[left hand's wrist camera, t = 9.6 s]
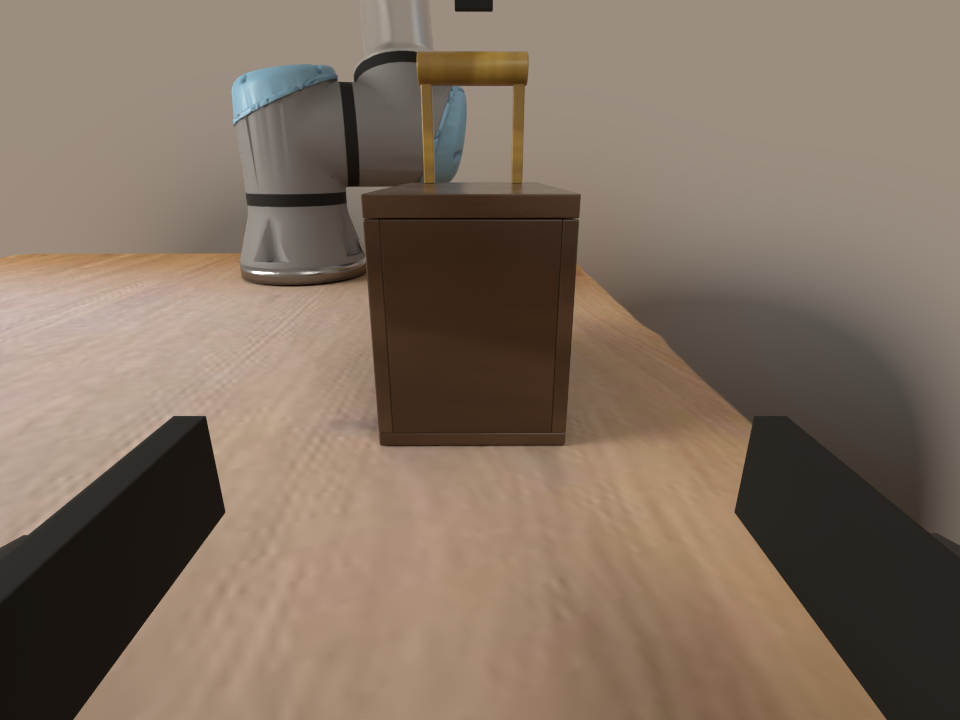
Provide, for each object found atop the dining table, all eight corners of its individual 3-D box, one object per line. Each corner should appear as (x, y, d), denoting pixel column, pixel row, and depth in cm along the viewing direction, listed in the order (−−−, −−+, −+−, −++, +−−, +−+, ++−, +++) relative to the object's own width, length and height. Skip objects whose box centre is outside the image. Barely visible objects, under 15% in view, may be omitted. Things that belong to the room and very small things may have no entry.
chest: (416, 341, 41) (409, 197, 38) (531, 341, 41) (537, 197, 38) (379, 446, 26) (362, 219, 22) (565, 445, 26) (579, 219, 22)
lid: (410, 196, 38) (404, 59, 35) (536, 196, 38) (541, 59, 35) (362, 218, 22) (343, -32, 19) (579, 218, 22) (595, -31, 19)
